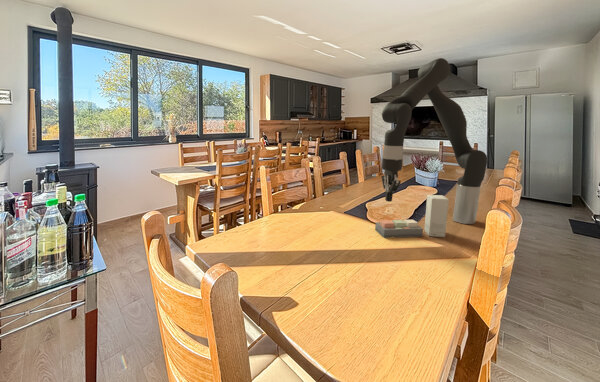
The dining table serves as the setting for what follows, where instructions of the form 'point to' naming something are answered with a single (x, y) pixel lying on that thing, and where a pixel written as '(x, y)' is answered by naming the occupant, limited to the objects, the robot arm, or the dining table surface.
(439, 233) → the skincare box
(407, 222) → the key ivory
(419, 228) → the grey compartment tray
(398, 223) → the key sage
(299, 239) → the dining table surface
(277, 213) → the dining table surface
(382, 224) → the key coral
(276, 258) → the dining table surface
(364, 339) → the dining table surface
